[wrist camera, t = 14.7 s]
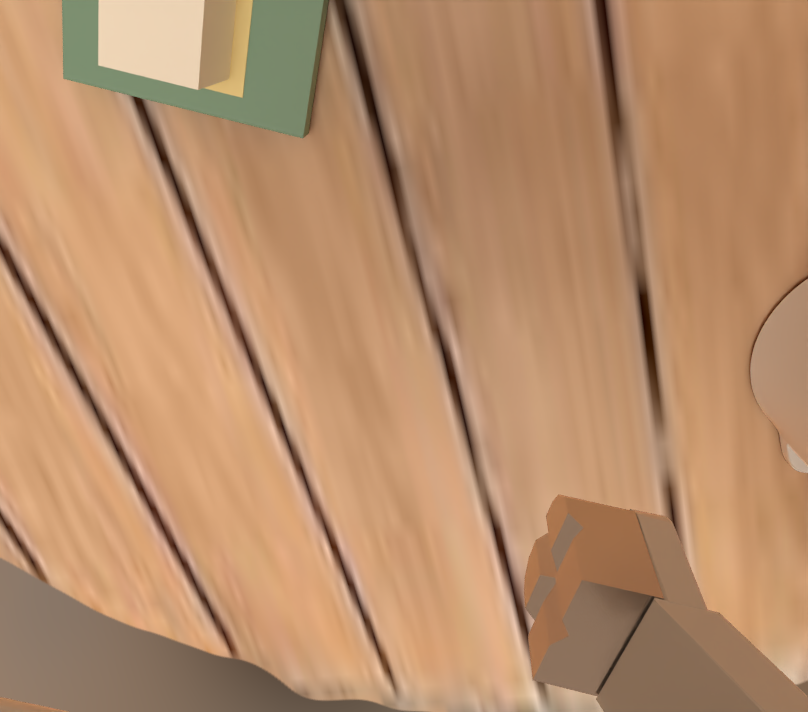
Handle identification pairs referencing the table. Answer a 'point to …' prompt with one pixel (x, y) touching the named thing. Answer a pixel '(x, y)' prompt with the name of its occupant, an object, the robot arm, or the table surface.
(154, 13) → the housing
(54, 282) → the table surface
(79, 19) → the header board
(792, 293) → the robot arm
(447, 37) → the table surface
